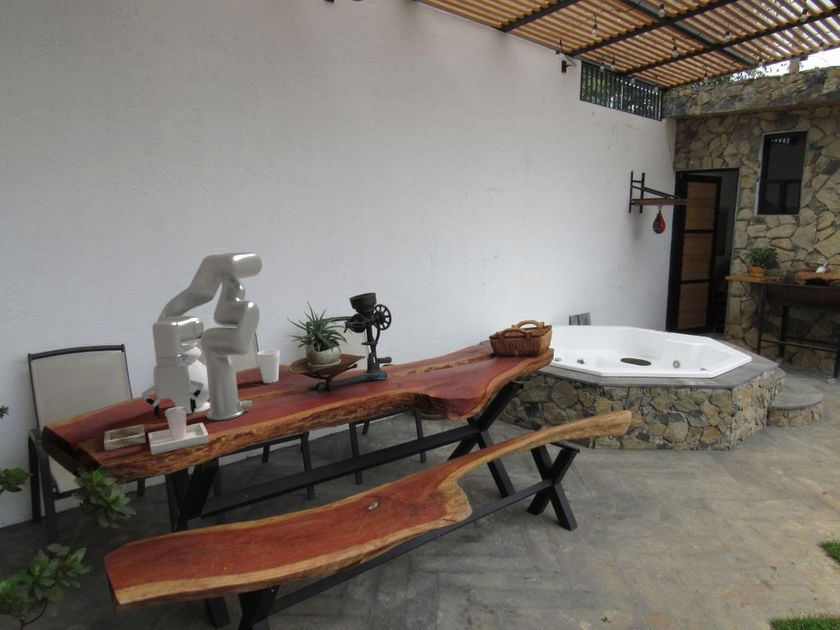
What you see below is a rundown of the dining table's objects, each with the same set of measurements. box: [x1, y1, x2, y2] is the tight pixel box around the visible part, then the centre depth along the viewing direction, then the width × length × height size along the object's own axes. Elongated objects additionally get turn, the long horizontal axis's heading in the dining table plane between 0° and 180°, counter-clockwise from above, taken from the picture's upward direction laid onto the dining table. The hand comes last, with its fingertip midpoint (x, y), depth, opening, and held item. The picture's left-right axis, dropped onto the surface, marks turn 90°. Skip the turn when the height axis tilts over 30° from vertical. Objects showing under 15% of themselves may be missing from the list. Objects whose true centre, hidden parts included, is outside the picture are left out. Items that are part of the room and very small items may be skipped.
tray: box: [147, 422, 210, 456], centre depth 164 cm, size 16×13×2 cm
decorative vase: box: [169, 340, 210, 415], centre depth 194 cm, size 18×18×25 cm
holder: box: [103, 424, 147, 451], centre depth 166 cm, size 11×11×2 cm
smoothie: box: [164, 397, 187, 441], centre depth 163 cm, size 6×6×14 cm
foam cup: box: [256, 349, 281, 384], centre depth 229 cm, size 10×9×13 cm
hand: (176, 414), depth 163 cm, fingers open, 9 cm apart
